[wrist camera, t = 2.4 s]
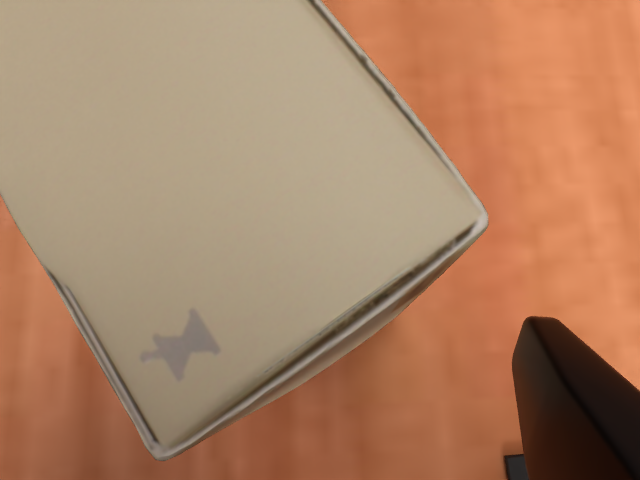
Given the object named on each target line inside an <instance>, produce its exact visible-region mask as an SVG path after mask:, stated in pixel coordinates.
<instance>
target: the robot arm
mask: <svg viewBox="0 0 640 480" xmlns="http://www.w3.org/2000/svg"><path fill="white" fill-rule="evenodd" d="M512 372H513V379H514V386H515V394H516V401H517V408H518V415H519V423H520V430H521V437H522V444H523V451H524V457H525V464H526V468H527V473H528V477H529V480H640V391H639V390H638V389H637V388H636V387H635V386H633V385H632V384H631V383H630V382H629V381H628V380H627V379H625V378H624V377H623V376H622V375H621V374H620V373H619V372H617V371H616V370H615V369H614V368H613V367H612V366H610V365H609V364H608V363H607V362H606V361H605V360H604V359H602V358H601V357H600V356H599V355H598V354H597V353H596V352H594V351H593V350H592V349H591V348H590V347H589V346H588V345H586V344H585V343H584V342H583V341H582V340H581V339H580V338H578V337H577V336H576V335H575V334H574V333H573V332H572V331H570V330H569V329H568V328H567V327H566V326H565V325H564V324H562V323H561V322H560V321H559V320H557V319H555V318H551V317H537V316H530V317H528V318H526V319H525V321H524V322H523V325H522V328H521V331H520V334H519V337H518V341H517V344H516V347H515V350H514V353H513V358H512Z"/></svg>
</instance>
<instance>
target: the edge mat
mask: <svg viewBox="0 0 640 480" xmlns="http://www.w3.org/2000/svg"><path fill="white" fill-rule="evenodd" d="M505 463H506V469H507V475H508V480H529V477H528V473H527V468H526V464H525V457H524V454H520V455H509V456H505Z"/></svg>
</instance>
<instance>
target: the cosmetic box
mask: <svg viewBox="0 0 640 480" xmlns="http://www.w3.org/2000/svg"><path fill="white" fill-rule="evenodd" d="M0 195H1V197H2V199H3V200H4V202H5V204H6V206H7V208H8V210H9V212H10V214H11V216H12V218H13V219H14V221H15V223H16V225H17V227H18V229H19V230H20V232H21V233H22V235H23V236H24V238H25V239H26V241H27V243H28V244H29V246H30V247H31V249H32V250H33V252H34V253H35V255H36V257H37V258H38V260H39V261H40V263H41V265H42V266H43V268H44V269H45V271H46V273H47V274H48V276H49V277H50V279H51V281H52V282H53V284H54V286H55V287H56V289H57V291H58V293H59V295H60V296H61V298H62V300H63V302H64V304H65V306H66V307H67V309H68V311H69V313H70V315H71V316H72V318H73V320H74V322H75V324H76V325H77V327H78V329H79V331H80V333H81V334H82V336H83V338H84V339H85V341H86V342H87V344H88V346H89V347H90V349H91V351H92V352H93V354H94V356H95V357H96V359H97V361H98V363H99V365H100V366H101V368H102V370H103V372H104V374H105V375H106V377H107V379H108V381H109V383H110V384H111V386H112V388H113V390H114V391H115V393H116V395H117V396H118V398H119V400H120V401H121V403H122V405H123V406H124V408H125V410H126V412H127V413H128V415H129V417H130V418H131V420H132V422H133V423H134V425H135V427H136V428H137V430H138V432H139V434H140V437H141V439H142V441H143V443H144V445H145V447H146V448H147V450H148V451H149V452H150V453H151V455H152V456H153V457H154V458H155V459H156V460H159V461H166V460H168V459H171V458H173V457H175V456H177V455H180V454H181V453H183V452H185V451H186V450H188V449H190V448H191V447H193V446H195V445H196V444H198V443H200V442H201V441H203V440H205V439H206V438H208V437H210V436H212V435H213V434H215V433H217V432H219V431H220V430H222V429H224V428H226V427H227V426H229V425H231V424H233V423H234V422H236V421H238V420H240V419H241V418H243V417H245V416H247V415H249V414H251V413H252V412H254V411H256V410H258V409H260V408H261V407H263V406H265V405H267V404H269V403H270V402H272V401H274V400H276V399H278V398H279V397H281V396H283V395H284V394H286V393H288V392H290V391H291V390H293V389H295V388H297V387H298V386H300V385H302V384H303V383H305V382H306V381H308V380H309V379H311V378H312V377H314V376H315V375H317V374H318V373H320V372H321V371H323V370H324V369H326V368H327V367H329V366H330V365H332V364H333V363H335V362H336V361H338V360H339V359H341V358H342V357H343V356H345V355H346V354H348V353H349V352H350V351H352V350H353V349H355V348H356V347H357V346H359V345H360V344H361V343H363V342H364V341H366V340H367V339H368V338H370V337H371V336H372V335H374V334H375V333H376V332H378V331H379V330H380V329H382V328H383V327H384V326H385V325H387V324H388V323H389V322H390V321H392V320H393V319H394V318H395V317H397V316H398V315H399V314H400V313H401V312H402V311H403V310H404V309H405V308H407V307H408V306H409V304H411V303H412V302H413V301H414V300H415V299H416V298H417V297H418V296H419V295H421V294H422V293H423V292H424V291H425V290H426V289H427V288H428V287H429V286H430V285H431V284H432V283H433V282H434V281H435V280H436V279H437V278H439V277H440V276H441V275H442V274H443V273H444V272H445V271H446V270H447V269H448V268H449V267H450V266H451V265H452V264H453V263H454V262H455V261H456V260H457V259H458V258H459V257H460V256H461V255H462V254H463V253H464V252H465V251H466V250H467V249H468V248H469V247H470V246H471V245H472V244H473V243H474V242H475V241H476V240H477V239H478V238H479V237H480V236H481V235H482V234H483V233H484V232H485V231H486V229H487V227H488V213H487V211H486V209H485V207H484V205H483V204H482V202H481V201H480V200H479V198H478V197H477V196H476V194H475V193H474V192H473V191H472V189H471V188H470V187H469V185H468V184H467V183H466V181H465V180H464V178H463V177H462V175H461V174H460V172H459V171H458V169H457V168H456V166H455V165H454V164H453V163H452V161H451V160H450V159H449V158H448V156H447V155H446V154H445V152H444V151H443V150H442V148H441V147H440V146H439V145H438V143H437V142H436V140H435V139H434V138H433V136H432V135H431V133H430V132H429V131H428V129H427V128H426V127H425V126H424V125H423V123H422V122H421V121H420V120H419V119H418V117H417V116H416V114H415V113H414V112H413V110H412V109H411V108H410V107H409V105H408V104H407V103H406V102H405V101H404V99H403V98H402V97H401V96H400V94H399V93H398V92H397V90H396V89H395V87H394V86H393V85H392V84H391V83H390V82H389V80H388V79H387V78H386V77H385V76H384V75H383V74H382V72H381V71H380V70H379V69H378V67H377V66H376V65H375V64H374V63H373V61H372V60H371V59H370V58H369V56H368V55H367V54H366V53H365V52H364V50H363V49H362V48H361V47H360V46H359V45H358V44H357V43H356V42H355V40H354V39H353V38H352V37H351V35H350V34H349V33H348V31H347V30H346V29H345V28H344V27H343V26H342V25H341V24H340V22H339V21H338V20H337V19H336V18H335V16H334V15H333V14H332V13H331V12H330V11H329V9H328V8H327V7H326V6H325V5H324V3H323V2H322V1H321V0H0Z"/></svg>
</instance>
